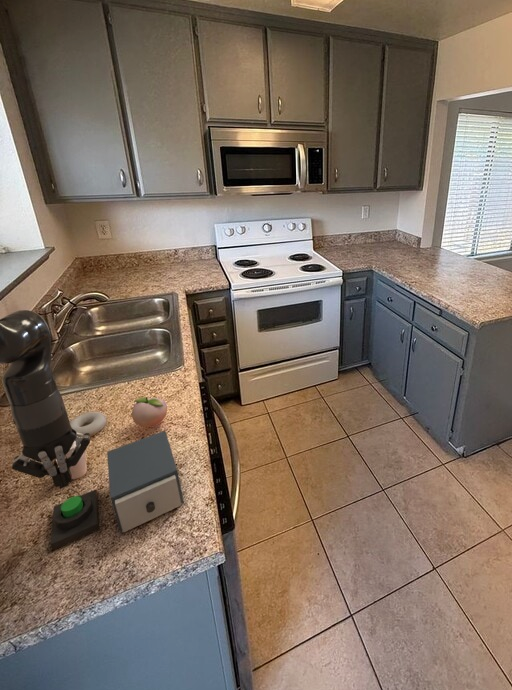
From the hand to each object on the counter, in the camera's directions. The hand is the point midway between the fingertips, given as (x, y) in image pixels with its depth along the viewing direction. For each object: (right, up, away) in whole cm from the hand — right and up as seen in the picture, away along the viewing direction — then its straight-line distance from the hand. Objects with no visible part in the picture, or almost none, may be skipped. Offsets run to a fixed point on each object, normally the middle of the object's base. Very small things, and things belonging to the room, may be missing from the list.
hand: (64, 484), depth 73 cm
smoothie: (-8, -6, +16) cm, 19 cm away
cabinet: (+12, -7, +10) cm, 17 cm away
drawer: (+14, -7, +8) cm, 17 cm away
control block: (0, -10, +4) cm, 10 cm away
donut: (-15, -1, +30) cm, 34 cm away
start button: (0, -7, +3) cm, 7 cm away
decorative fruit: (+3, 0, +31) cm, 31 cm away
